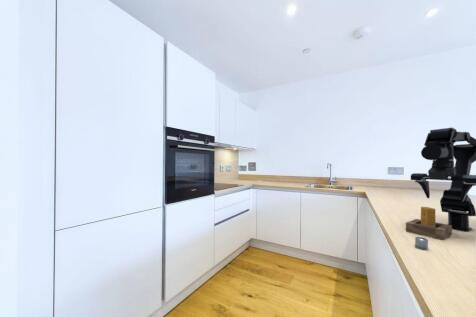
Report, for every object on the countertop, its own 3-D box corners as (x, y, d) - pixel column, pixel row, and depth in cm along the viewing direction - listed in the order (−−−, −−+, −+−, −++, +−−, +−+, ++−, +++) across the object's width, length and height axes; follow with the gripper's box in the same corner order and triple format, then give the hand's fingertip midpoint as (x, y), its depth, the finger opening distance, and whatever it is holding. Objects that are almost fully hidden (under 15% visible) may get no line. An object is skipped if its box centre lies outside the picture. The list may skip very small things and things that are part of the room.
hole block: (416, 226, 83) (416, 218, 83) (452, 234, 74) (451, 225, 74) (406, 231, 77) (405, 222, 77) (443, 240, 68) (443, 230, 68)
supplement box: (437, 235, 73) (436, 208, 74) (427, 234, 74) (426, 208, 74) (429, 231, 77) (429, 206, 77) (420, 231, 77) (419, 206, 77)
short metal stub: (420, 245, 64) (420, 236, 64) (430, 250, 61) (430, 240, 61) (412, 245, 64) (412, 236, 64) (422, 250, 61) (422, 240, 61)
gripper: (404, 160, 80) (405, 198, 79) (475, 159, 64) (477, 206, 63) (415, 160, 85) (416, 195, 85) (482, 159, 69) (484, 203, 69)
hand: (444, 200), depth 75 cm, fingers open, 9 cm apart
